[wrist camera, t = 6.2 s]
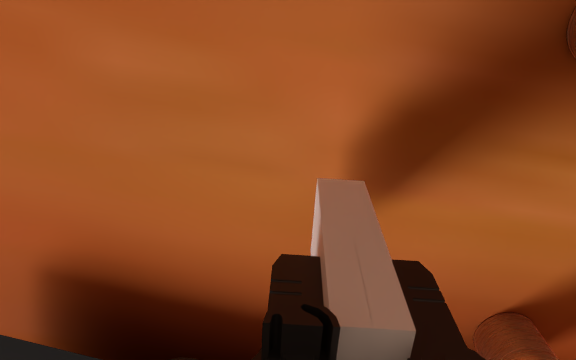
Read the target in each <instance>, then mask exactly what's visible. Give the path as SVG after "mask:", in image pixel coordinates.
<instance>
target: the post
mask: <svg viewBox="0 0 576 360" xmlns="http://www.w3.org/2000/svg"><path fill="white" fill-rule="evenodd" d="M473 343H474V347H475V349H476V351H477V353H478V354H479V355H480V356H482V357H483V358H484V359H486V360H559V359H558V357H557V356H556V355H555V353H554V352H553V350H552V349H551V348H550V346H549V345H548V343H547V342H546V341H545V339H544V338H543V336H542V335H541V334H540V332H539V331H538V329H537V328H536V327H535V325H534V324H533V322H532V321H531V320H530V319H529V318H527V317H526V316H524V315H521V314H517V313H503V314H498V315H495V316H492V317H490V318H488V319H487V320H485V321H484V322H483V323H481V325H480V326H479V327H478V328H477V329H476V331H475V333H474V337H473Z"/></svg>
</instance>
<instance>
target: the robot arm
mask: <svg viewBox="0 0 576 360" xmlns="http://www.w3.org/2000/svg"><path fill="white" fill-rule="evenodd" d="M170 360H197V359H194V358H184V357H180V358H175V359H170ZM251 360H486V359H484V358H483V357H482V356H480V355H479V354H478V353H477V352H475V351H473V350H471V349H468V348H467V346H466V344H465V342H464V340H463V338H462V336H461V334H460V331H459V329H458V327H457V325H456V323H455V321H454V319H453V317H452V315H451V312H450V310H449V308H448V306H447V304H446V303H445V300H444V298H443V296H442V293H441V291H439V287H438V285H437V283H436V281H435V279H434V277H433V275H432V273H431V272H430V271H428V270H427V269H426V268H425V267H424V266H423V265H422V264H421V263H420V262H419V261H406V260H391V257H390V254H389V251H388V248H387V245H386V243H385V240H384V237H383V234H382V231H381V228H380V225H379V222H378V219H377V216H376V214H375V211H374V208H373V205H372V202H371V199H370V196H369V193H368V190H367V188H366V185H365V182H364V181H356V180H340V179H324V178H317V188H316V198H315V209H314V220H313V231H312V242H311V256H304V255H288V254H281V256H280V257H279V258H278V259H277V260H276V262H275V263H274V264H273V265H272V274H271V284H270V294H269V303H268V312H267V313H266V316H265V318H264V321H263V328H262V348H261V349H260V351H259V352H258V354H257V355H256V356H254V357H253V358H252V359H251Z"/></svg>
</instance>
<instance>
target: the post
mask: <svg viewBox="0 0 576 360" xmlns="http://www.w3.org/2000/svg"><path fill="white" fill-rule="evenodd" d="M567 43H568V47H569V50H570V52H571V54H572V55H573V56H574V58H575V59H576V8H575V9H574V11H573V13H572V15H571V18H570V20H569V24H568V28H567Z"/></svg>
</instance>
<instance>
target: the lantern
mask: <svg viewBox="0 0 576 360" xmlns="http://www.w3.org/2000/svg"><path fill="white" fill-rule="evenodd" d="M0 360H101V359H97V358H93V357H89V356H85V355H81V354H77V353H73V352H69V351H64V350H60V349H56V348H52V347H48V346H44V345H40V344H36V343H32V342H28V341H24V340H20V339H16V338H11V337H7V336H3V335H0Z"/></svg>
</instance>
